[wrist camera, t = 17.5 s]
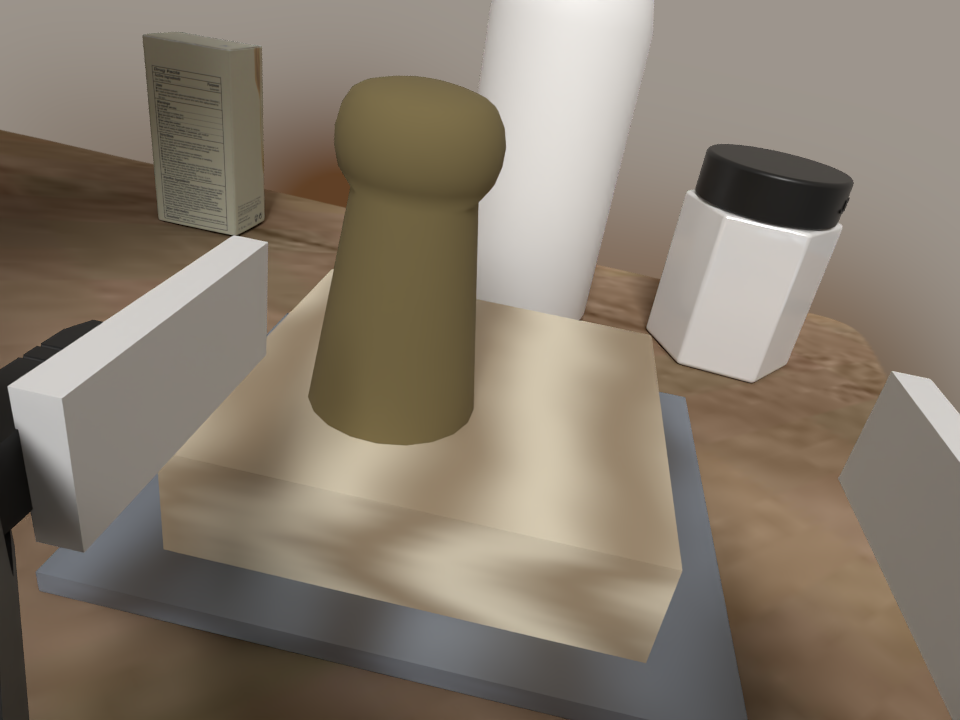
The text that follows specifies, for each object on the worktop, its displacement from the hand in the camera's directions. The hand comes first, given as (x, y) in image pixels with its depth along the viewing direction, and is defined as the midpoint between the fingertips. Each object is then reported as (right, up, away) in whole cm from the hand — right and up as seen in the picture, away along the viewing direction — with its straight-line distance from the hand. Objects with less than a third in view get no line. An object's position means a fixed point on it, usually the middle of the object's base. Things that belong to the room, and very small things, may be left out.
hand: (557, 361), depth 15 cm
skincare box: (-21, +10, +37) cm, 44 cm away
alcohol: (0, +3, +32) cm, 32 cm away
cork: (-5, -1, +11) cm, 12 cm away
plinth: (-3, -5, +15) cm, 16 cm away
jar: (+13, +1, +31) cm, 34 cm away
